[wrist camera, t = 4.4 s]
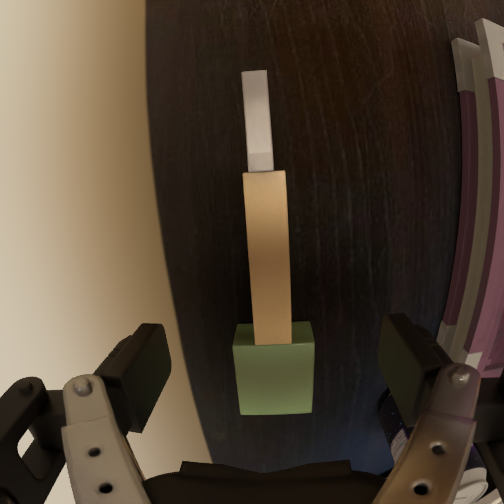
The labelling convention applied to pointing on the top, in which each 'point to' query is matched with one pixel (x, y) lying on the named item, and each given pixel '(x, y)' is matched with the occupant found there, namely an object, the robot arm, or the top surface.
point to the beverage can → (398, 436)
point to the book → (479, 209)
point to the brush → (269, 279)
